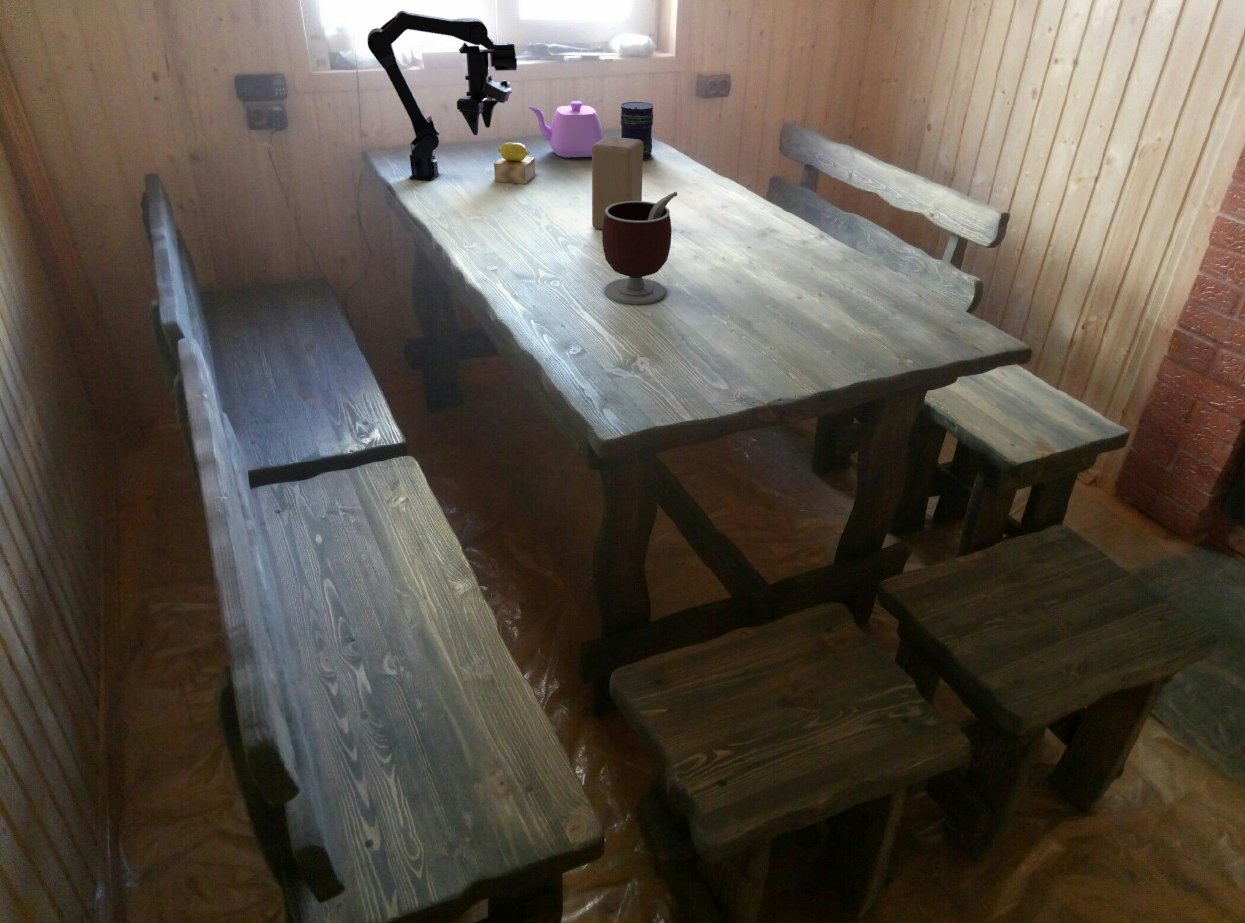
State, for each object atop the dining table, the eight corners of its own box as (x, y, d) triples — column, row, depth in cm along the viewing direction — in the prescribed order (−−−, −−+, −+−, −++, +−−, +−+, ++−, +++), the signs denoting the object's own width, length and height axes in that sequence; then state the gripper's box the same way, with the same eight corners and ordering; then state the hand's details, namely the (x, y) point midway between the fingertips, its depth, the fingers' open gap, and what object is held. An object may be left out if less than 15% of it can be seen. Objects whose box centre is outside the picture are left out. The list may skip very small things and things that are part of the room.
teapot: (597, 142, 283) (597, 92, 274) (607, 160, 265) (607, 107, 257) (527, 144, 279) (524, 94, 271) (532, 162, 262) (529, 109, 254)
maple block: (494, 181, 246) (493, 163, 243) (505, 172, 253) (504, 154, 250) (525, 184, 244) (524, 165, 241) (535, 175, 251) (534, 157, 249)
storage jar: (622, 151, 274) (623, 101, 266) (653, 153, 273) (655, 102, 265) (617, 160, 266) (618, 108, 257) (649, 161, 265) (651, 109, 256)
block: (642, 221, 219) (644, 139, 208) (629, 234, 211) (631, 149, 200) (604, 216, 222) (605, 134, 211) (590, 229, 214) (590, 144, 203)
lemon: (496, 162, 245) (494, 146, 241) (502, 155, 248) (500, 138, 245) (527, 165, 243) (525, 148, 240) (532, 157, 247) (530, 141, 243)
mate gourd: (617, 310, 175) (619, 211, 164) (591, 284, 185) (591, 190, 174) (687, 298, 180) (692, 201, 169) (658, 274, 191) (661, 182, 179)
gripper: (493, 79, 227) (497, 141, 236) (518, 67, 242) (520, 126, 251) (453, 76, 229) (458, 138, 238) (480, 64, 244) (483, 122, 253)
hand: (481, 131), depth 245 cm, fingers open, 9 cm apart
